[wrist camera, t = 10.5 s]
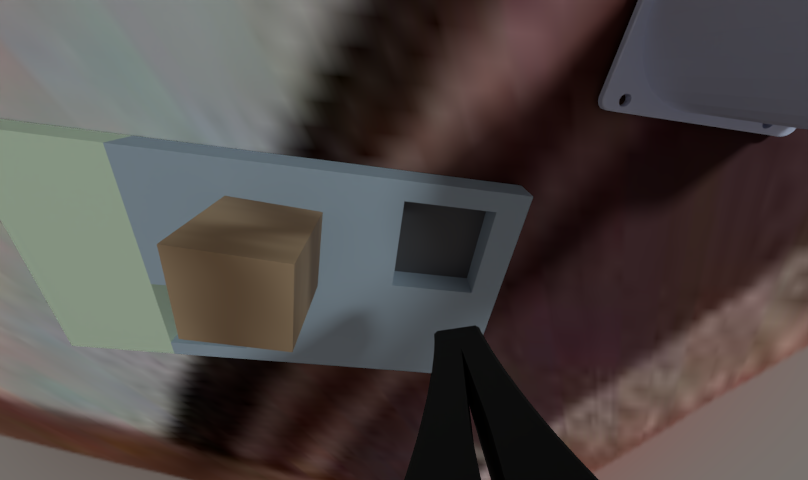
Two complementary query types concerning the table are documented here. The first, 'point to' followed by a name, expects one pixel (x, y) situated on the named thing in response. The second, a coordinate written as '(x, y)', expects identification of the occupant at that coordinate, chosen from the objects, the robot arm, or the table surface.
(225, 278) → the walnut block
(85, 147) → the board
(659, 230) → the table surface
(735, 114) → the robot arm
